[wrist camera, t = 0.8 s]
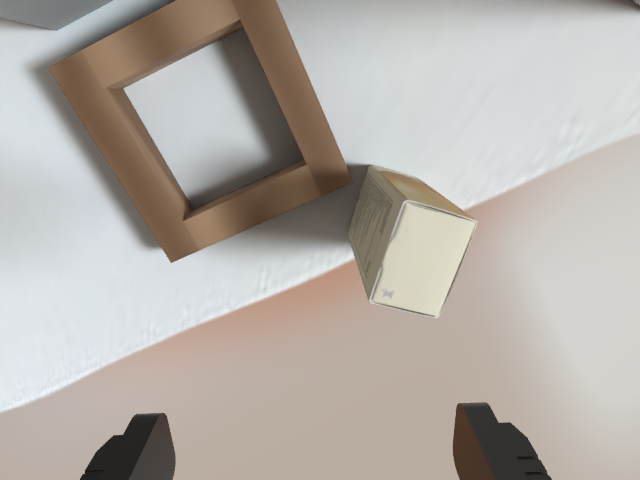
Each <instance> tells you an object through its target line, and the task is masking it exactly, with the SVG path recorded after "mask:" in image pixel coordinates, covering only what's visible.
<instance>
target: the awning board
mask: <svg viewBox="0 0 640 480" xmlns="http://www.w3.org/2000/svg"><path fill="white" fill-rule="evenodd" d="M111 1H112V0H0V18H3V19H7V20H12V21H16V22H21V23H25V24H30V25H34V26H39V27H43V28H48V29H52V30H59V29H60V28H62V27H64V26H66V25H68V24H70V23H72V22H73V21H75V20H77V19H79V18H81V17H83V16H85V15H86V14H88V13H90V12H92V11H94V10H96V9H98V8H99V7H101V6H103V5H105V4H107V3H109V2H111Z"/></svg>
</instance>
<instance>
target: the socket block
mask: <svg viewBox="0 0 640 480" xmlns="http://www.w3.org/2000/svg"><path fill="white" fill-rule="evenodd" d="M243 27H244V29H245V31H246V33H247V36H248V38H249V40H250V42H251V44H252V46H253V49H254V51H255V53H256V55H257V57H258V59H259V62H260V64H261V66H262V68H263V70H264V72H265V75H266V77H267V79H268V81H269V83H270V86H271V88H272V90H273V92H274V94H275V96H276V99H277V101H278V103H279V105H280V107H281V109H282V112H283V114H284V116H285V118H286V120H287V122H288V125H289V127H290V129H291V131H292V133H293V135H294V138H295V140H296V142H297V144H298V146H299V149H300V151H301V153H302V155H303V157H304V159H303V160H301V161H299V162H297V163H294V164H292V165H290V166H288V167H286V168H284V169H281V170H279V171H277V172H275V173H273V174H270V175H268V176H266V177H264V178H262V179H260V180H257V181H255V182H253V183H251V184H249V185H246V186H244V187H242V188H240V189H238V190H236V191H233V192H231V193H229V194H227V195H225V196H222V197H220V198H218V199H216V200H214V201H212V202H209V203H207V204H205V205H203V206H201V207H198V208H196V209H194V210H193V208H192V207H191V205H190V203H189V201H188V200H187V198H186V196H185V195H184V193H183V191H182V189H181V188H180V186H179V184H178V183H177V181H176V179H175V177H174V176H173V174H172V172H171V170H170V169H169V167H168V165H167V164H166V162H165V160H164V158H163V157H162V155H161V153H160V152H159V150H158V148H157V146H156V145H155V143H154V141H153V140H152V138H151V136H150V134H149V133H148V131H147V129H146V127H145V126H144V124H143V122H142V121H141V119H140V117H139V115H138V114H137V112H136V110H135V109H134V107H133V105H132V103H131V102H130V100H129V98H128V97H127V95H126V93H125V91H124V90H123V88H125V87H127V86H129V85H131V84H133V83H135V82H137V81H139V80H140V79H142V78H144V77H146V76H148V75H150V74H152V73H154V72H156V71H158V70H160V69H162V68H164V67H166V66H168V65H170V64H172V63H174V62H176V61H178V60H180V59H182V58H184V57H186V56H188V55H190V54H192V53H194V52H196V51H198V50H200V49H201V48H203V47H205V46H207V45H209V44H211V43H213V42H215V41H217V40H219V39H221V38H223V37H225V36H227V35H229V34H231V33H233V32H235V31H237V30H239V29H241V28H243ZM48 69H49V70H50V72H51V73H52V75H53V77H54V78H55V80H56V81H57V83H58V85H59V86H60V88H61V89H62V91H63V92H64V94H65V96H66V97H67V99H68V100H69V102H70V103H71V105H72V107H73V108H74V110H75V111H76V113H77V115H78V116H79V118H80V119H81V121H82V122H83V124H84V126H85V127H86V129H87V130H88V132H89V134H90V135H91V137H92V138H93V140H94V141H95V143H96V145H97V146H98V148H99V149H100V151H101V153H102V154H103V156H104V157H105V159H106V160H107V162H108V164H109V165H110V167H111V168H112V170H113V172H114V173H115V175H116V176H117V178H118V179H119V181H120V183H121V184H122V186H123V187H124V189H125V191H126V192H127V194H128V195H129V197H130V198H131V200H132V202H133V203H134V205H135V206H136V208H137V210H138V211H139V213H140V214H141V216H142V217H143V219H144V221H145V222H146V224H147V225H148V227H149V229H150V230H151V232H152V233H153V235H154V236H155V238H156V240H157V241H158V243H159V244H160V246H161V248H162V249H163V251H164V252H165V254H166V255H167V257H168V259H169V260H170V262H171V263H172V262H174V261H177V260H179V259H181V258H183V257H186V256H188V255H190V254H192V253H195V252H197V251H199V250H201V249H204V248H206V247H208V246H210V245H213V244H215V243H217V242H219V241H222V240H224V239H226V238H228V237H231V236H233V235H235V234H237V233H240V232H242V231H244V230H246V229H249V228H251V227H253V226H255V225H258V224H260V223H262V222H264V221H267V220H269V219H271V218H273V217H276V216H278V215H280V214H282V213H285V212H287V211H289V210H291V209H294V208H296V207H298V206H300V205H303V204H305V203H307V202H309V201H312V200H314V199H316V198H318V197H321V196H323V195H325V194H327V193H330V192H332V191H334V190H336V189H339V188H341V187H343V186H345V185H348V184H350V183H352V182H353V180H352V178H351V176H350V173H349V171H348V169H347V166H346V164H345V162H344V159H343V157H342V155H341V152H340V150H339V148H338V145H337V143H336V141H335V138H334V136H333V133H332V131H331V129H330V126H329V124H328V122H327V119H326V117H325V115H324V112H323V110H322V108H321V105H320V103H319V101H318V98H317V96H316V94H315V91H314V89H313V87H312V84H311V82H310V80H309V77H308V75H307V73H306V70H305V68H304V65H303V63H302V61H301V58H300V56H299V54H298V51H297V49H296V47H295V44H294V42H293V40H292V37H291V35H290V33H289V30H288V28H287V26H286V23H285V21H284V19H283V16H282V14H281V12H280V9H279V7H278V5H277V2H276V0H176V1H174V2H172V3H170V4H168V5H166V6H164V7H162V8H160V9H159V10H157V11H155V12H153V13H151V14H149V15H147V16H145V17H143V18H141V19H140V20H138V21H136V22H134V23H132V24H130V25H128V26H126V27H124V28H122V29H121V30H119V31H117V32H115V33H113V34H111V35H109V36H107V37H105V38H104V39H102V40H100V41H98V42H96V43H94V44H92V45H90V46H88V47H86V48H85V49H83V50H81V51H79V52H77V53H75V54H73V55H71V56H69V57H68V58H66V59H64V60H62V61H60V62H58V63H56V64H54V65H52V66H50V67H49V68H48Z"/></svg>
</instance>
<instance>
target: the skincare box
mask: <svg viewBox="0 0 640 480" xmlns="http://www.w3.org/2000/svg"><path fill="white" fill-rule="evenodd" d="M477 223H478V222H477V220H475V219H474V218H472V217H471V216H470V215H468V214H467V213H466V212H464V211H463V210H461V209H460V208H459V207H457V206H456V205H455V204H453V203H452V202H450V201H449V200H448V199H446V198H445V197H444V196H442V195H441V194H439V193H438V192H437V191H435V190H434V189H432V188H431V187H429V186H428V185H427V184H425V183H424V182H423V181H421V180H420V179H418V178H416V177H412V176H409V175H406V174H403V173H400V172H396V171H393V170H390V169H386V168H383V167H379V166H375V165H370V166H369V167H368V170H367V173H366V176H365V179H364V182H363V185H362V188H361V191H360V194H359V197H358V200H357V204H356V207H355V210H354V213H353V217H352V220H351V224H350V228H349V231H348V237H349V240H350V243H351V246H352V249H353V252H354V256H355V259H356V262H357V265H358V268H359V271H360V275H361V278H362V281H363V284H364V288H365V291H366V294H367V297H368V300H369V302H370V303H373V304H377V305H381V306H384V307H389V308H392V309H396V310H401V311H405V312H409V313H413V314H417V315H422V316H428V317H433V318H438V317H439V315H440V313H441V311H442V309H443V308H444V305H445V303H446V301H447V299H448V297H449V294H450V292H451V290H452V287H453V285H454V283H455V280H456V278H457V275H458V273H459V270H460V268H461V265H462V263H463V260H464V258H465V255H466V253H467V250H468V248H469V245H470V242H471V240H472V237H473V234H474V231H475V229H476V226H477Z"/></svg>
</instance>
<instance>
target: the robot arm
mask: <svg viewBox="0 0 640 480" xmlns="http://www.w3.org/2000/svg"><path fill="white" fill-rule="evenodd" d="M633 1H634V2H635V3H636V4H638V5H640V0H633ZM453 456H454V462H455V467H456V470H457V473H458V475H459V479H460V480H552V479H551V478H550V476H548V475H547V471H546V469H545V467H544V466H543V464H542V462H541V461H540V460H539V459H538V455H537V454H536V452H535V450H534V449H533V447H532V445H531V443H530V442H529V440H528V438H527V437H526V436H525V435H524V434H522V433H521V432H520V431H519V430H518V429H517V428H516V427H515V426H514V425H512V424H511V423H498V421H497V419H496V417H495V415H494V413H493V411H492V410H491V408H490V406H489V405H488V404H487V403H459V404H458V405H457V409H456V418H455V429H454V439H453ZM174 471H175V451H174V447H173V442H172V438H171V433H170V428H169V424H168V420H167V416H166V415H165V414H164V413H153V414H136V415H135V416H134V417H133V418H132V420H131V421H130V423H129V425H128V427H127V429H126V430H125V432H124V434H123V435H116V436H115V435H114V436H113V437H112V438H110V439H109V440H108V441H107V442H106V443H105V444H104V445H103V446H102V447H101V448H100V449H99V450H98V451H97V452H96V453H95V455H94V457H93V458H92V460H91V462H90V463H89V465H88V467H87V468H86V470H85V474H83V475H82V477H81V478H80V480H172V479H173V476H174Z"/></svg>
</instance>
